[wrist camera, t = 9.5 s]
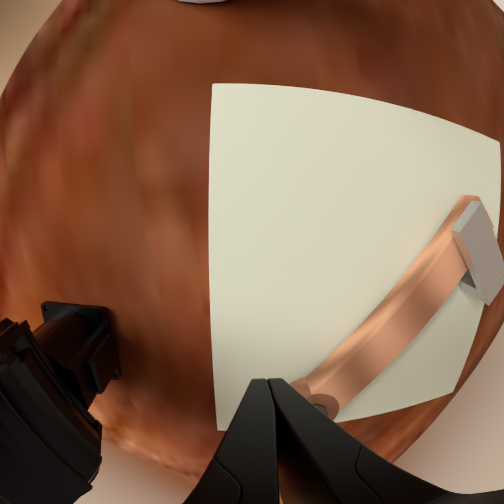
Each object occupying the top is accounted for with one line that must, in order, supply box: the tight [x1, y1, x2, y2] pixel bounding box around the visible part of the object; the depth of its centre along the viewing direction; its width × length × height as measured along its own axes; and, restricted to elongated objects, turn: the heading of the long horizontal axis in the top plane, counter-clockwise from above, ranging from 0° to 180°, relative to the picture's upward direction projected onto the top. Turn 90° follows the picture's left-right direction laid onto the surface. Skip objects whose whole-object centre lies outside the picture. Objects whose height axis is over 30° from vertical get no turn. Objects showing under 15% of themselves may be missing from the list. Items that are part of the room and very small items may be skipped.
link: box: [290, 194, 494, 420], centre depth 18 cm, size 22×4×2 cm, turn 139°
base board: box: [209, 84, 501, 431], centre depth 19 cm, size 25×26×1 cm
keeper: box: [450, 201, 504, 305], centre depth 17 cm, size 3×8×5 cm, turn 44°
